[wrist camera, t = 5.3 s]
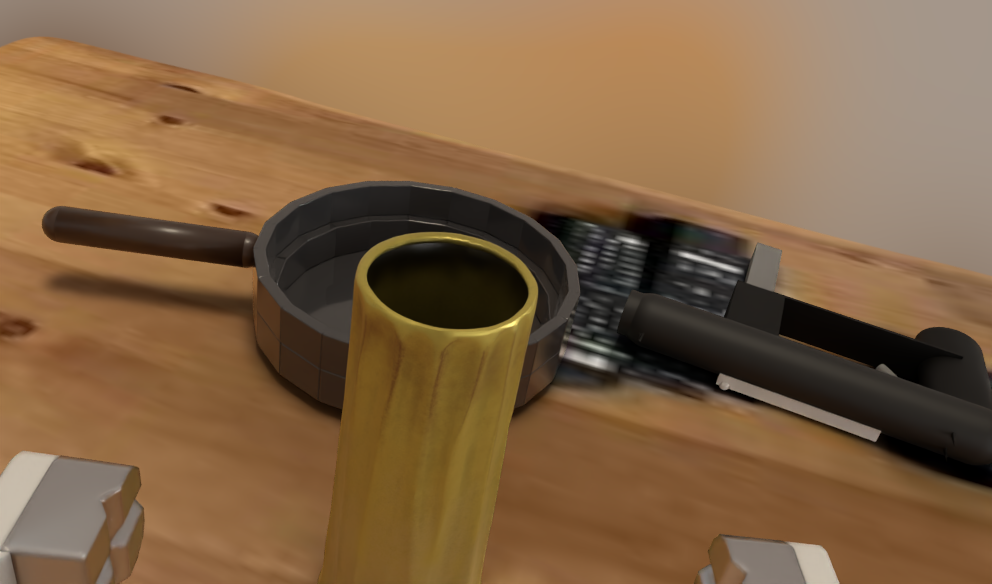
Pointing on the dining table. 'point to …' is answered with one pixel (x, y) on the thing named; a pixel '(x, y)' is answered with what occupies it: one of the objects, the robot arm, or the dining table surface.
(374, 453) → the vase
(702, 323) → the gun
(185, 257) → the pan handle
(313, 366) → the pan
